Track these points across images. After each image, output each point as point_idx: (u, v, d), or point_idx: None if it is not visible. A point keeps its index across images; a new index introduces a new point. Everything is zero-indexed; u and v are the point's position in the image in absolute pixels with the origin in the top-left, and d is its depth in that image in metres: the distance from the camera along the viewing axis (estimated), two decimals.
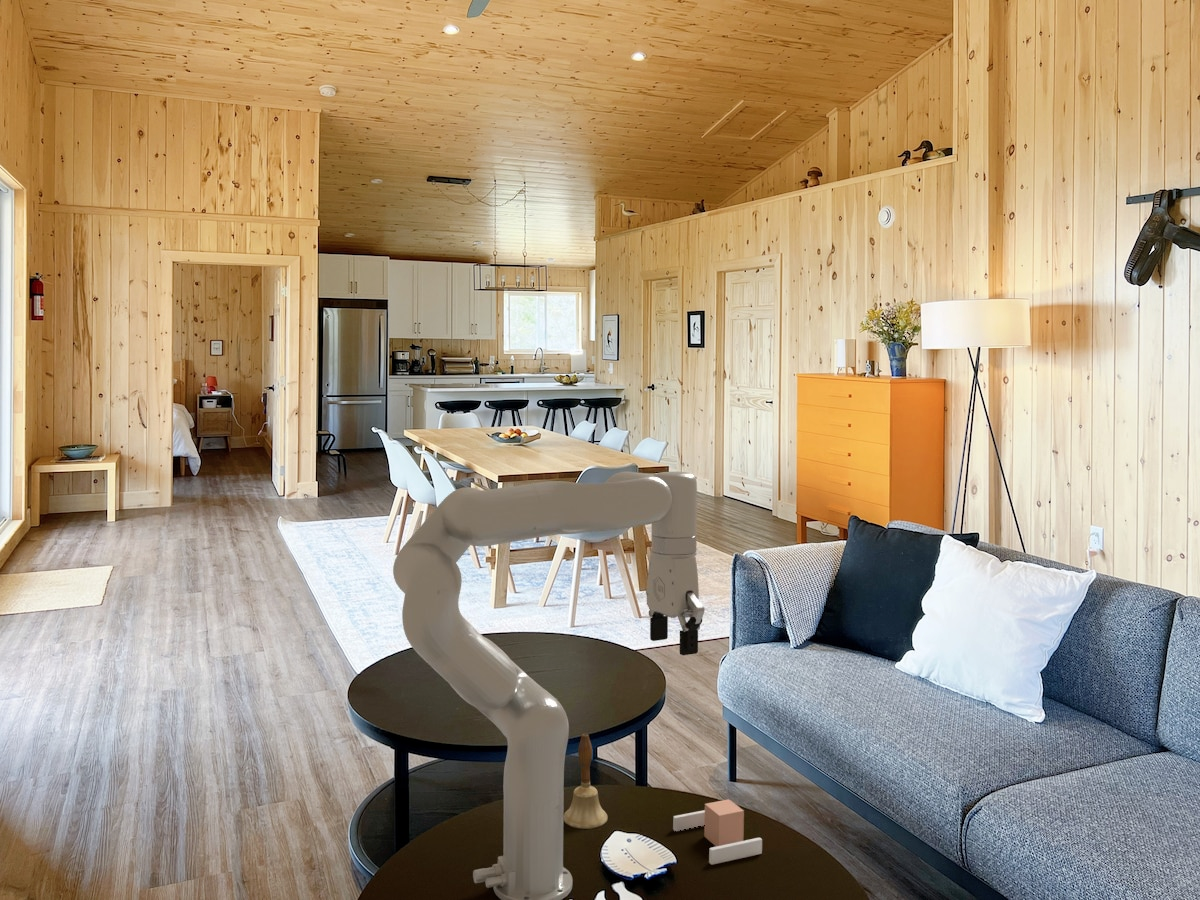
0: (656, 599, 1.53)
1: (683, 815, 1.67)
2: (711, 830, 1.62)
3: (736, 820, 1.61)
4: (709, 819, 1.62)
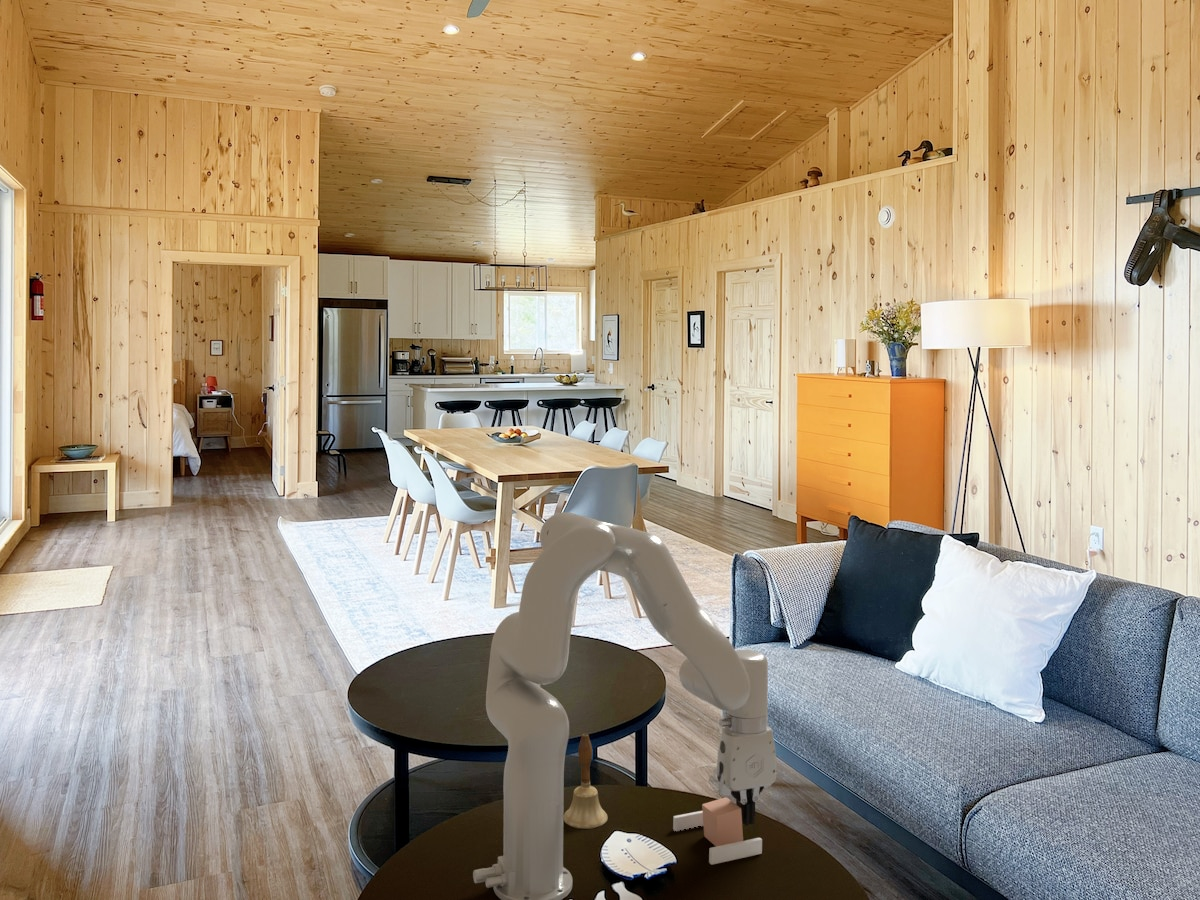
0: (750, 777, 1.61)
1: (683, 815, 1.67)
2: (710, 830, 1.62)
3: (734, 818, 1.60)
4: (707, 819, 1.62)
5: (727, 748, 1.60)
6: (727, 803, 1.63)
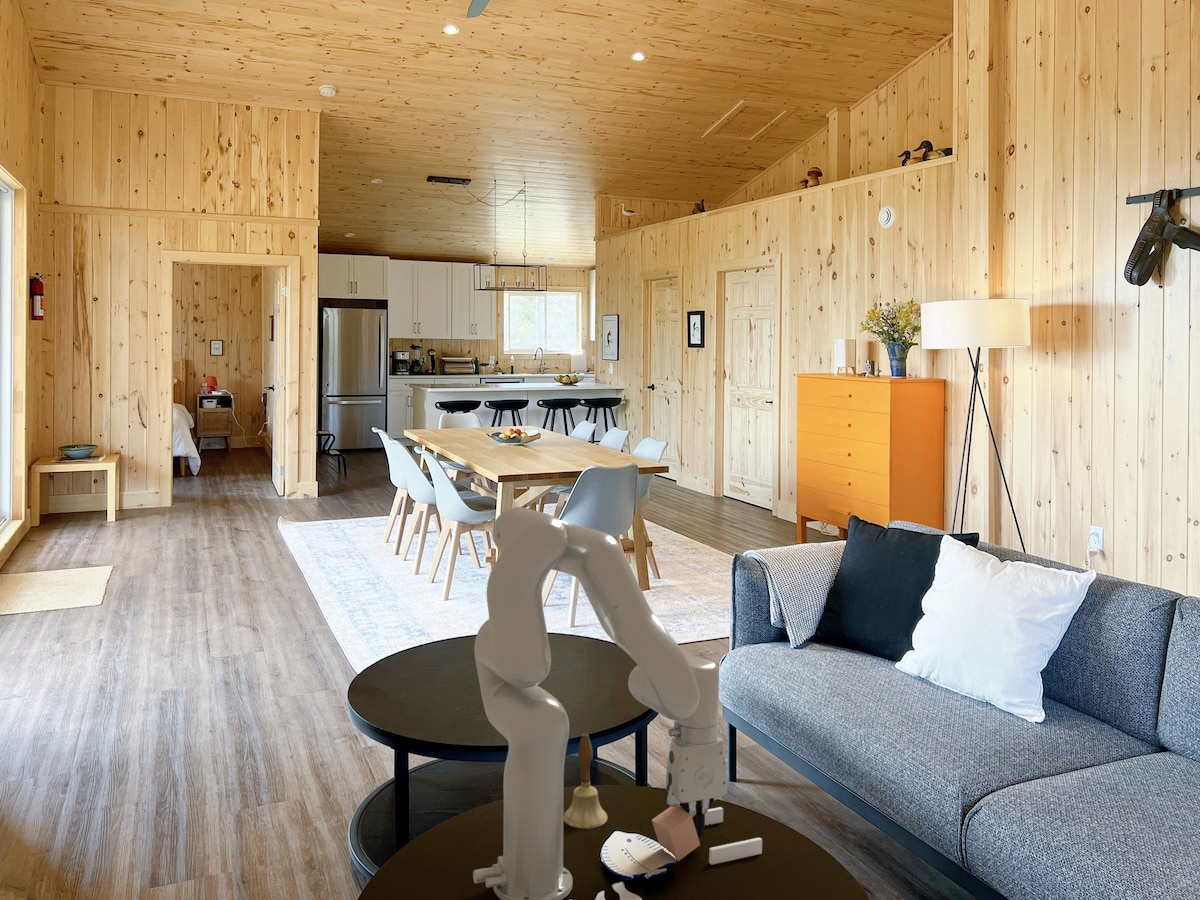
0: (699, 788, 1.57)
1: None
2: (665, 844, 1.57)
3: (686, 827, 1.56)
4: (660, 834, 1.57)
5: (676, 758, 1.56)
6: (676, 812, 1.58)
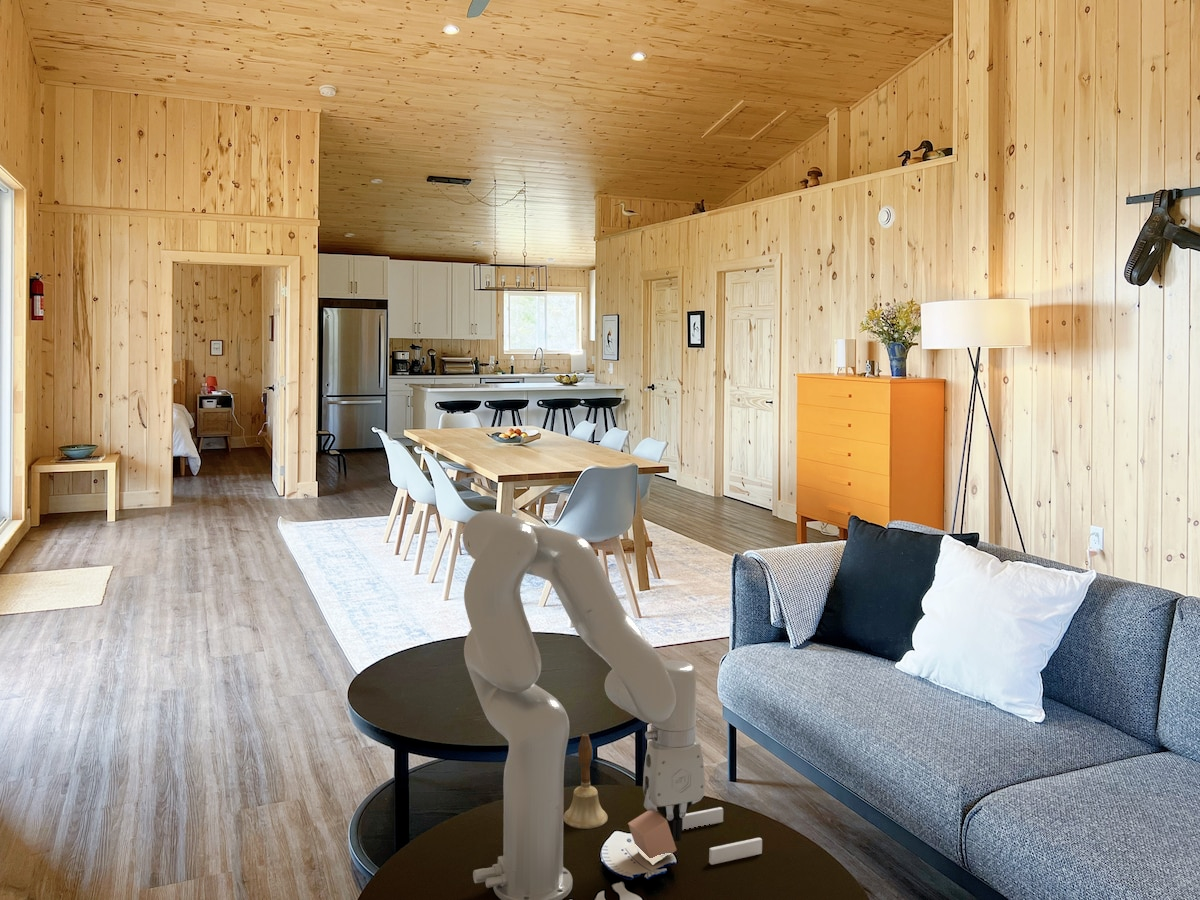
0: (676, 792, 1.55)
1: None
2: (641, 848, 1.55)
3: (662, 831, 1.54)
4: (636, 837, 1.56)
5: (652, 762, 1.54)
6: (653, 816, 1.56)
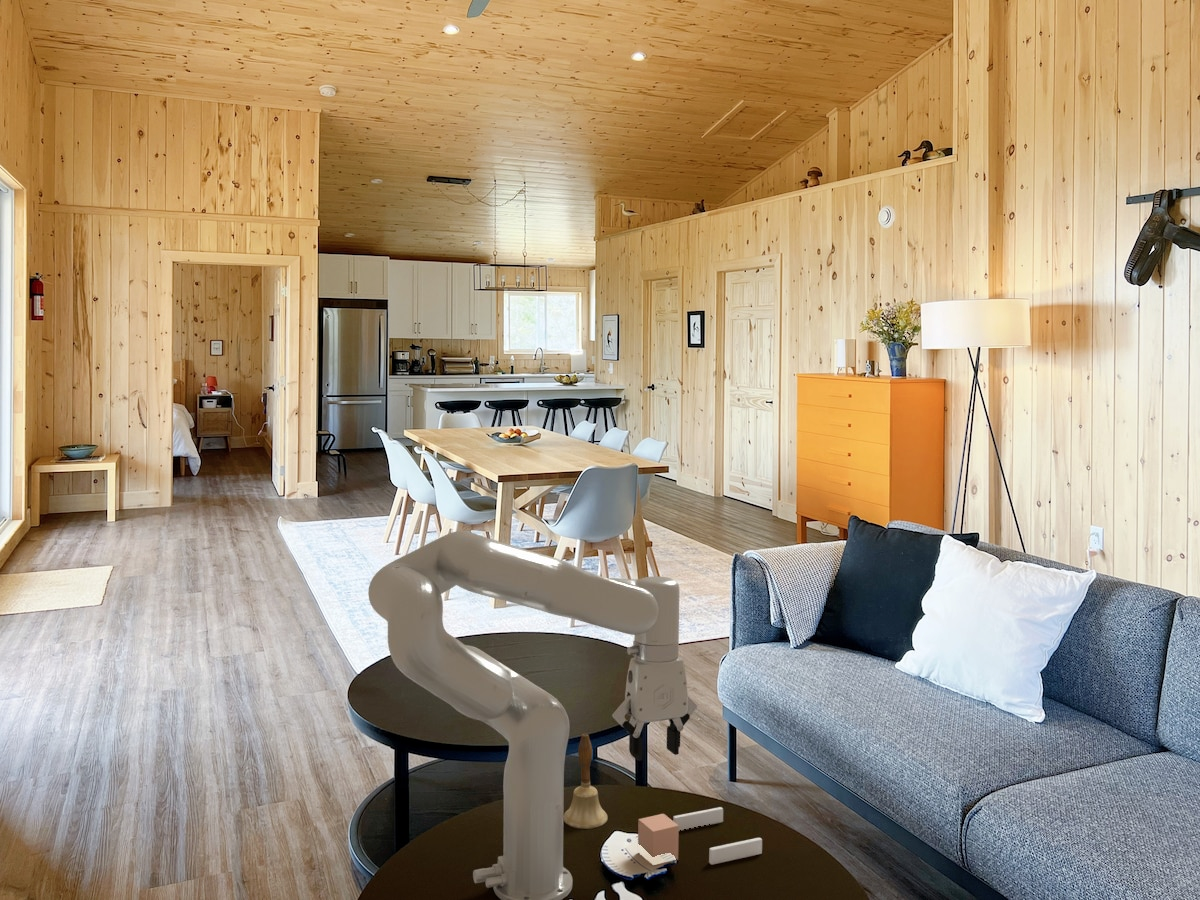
0: (658, 708, 1.53)
1: (683, 815, 1.67)
2: (645, 846, 1.55)
3: (671, 835, 1.55)
4: (642, 835, 1.56)
5: (634, 677, 1.52)
6: (664, 819, 1.57)
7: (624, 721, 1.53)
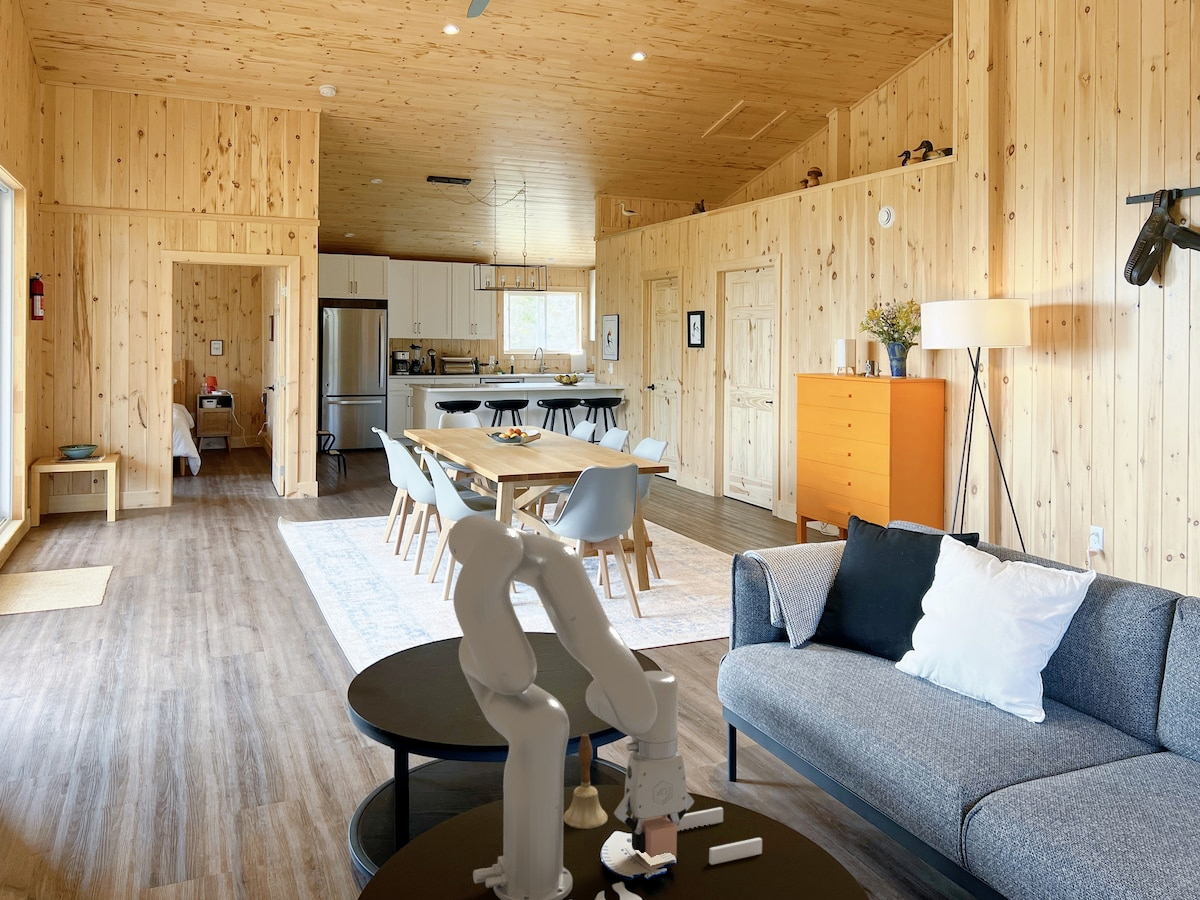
0: (657, 804, 1.54)
1: None
2: None
3: (669, 835, 1.55)
4: None
5: (633, 774, 1.53)
6: (663, 819, 1.57)
7: (626, 818, 1.54)
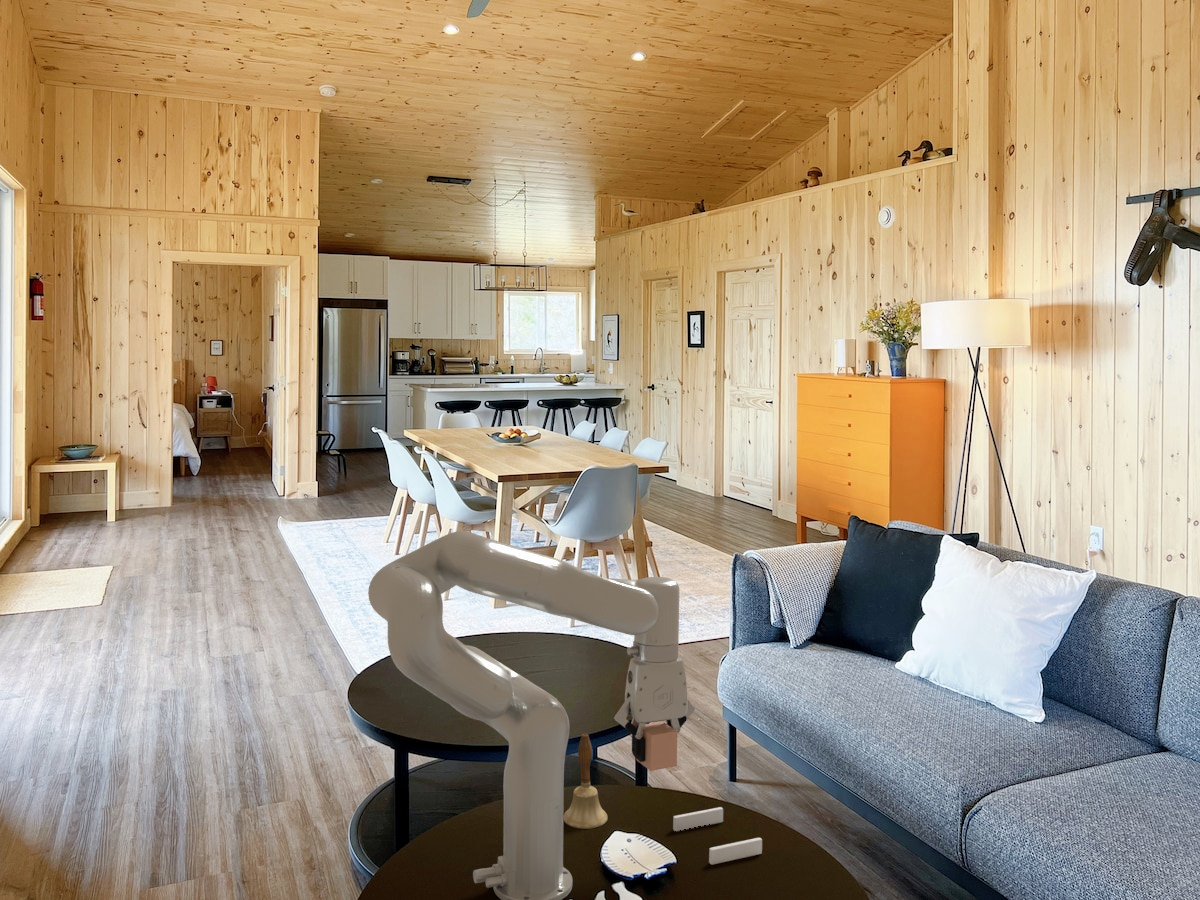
0: (658, 709, 1.53)
1: (683, 815, 1.67)
2: None
3: (669, 740, 1.54)
4: None
5: (634, 677, 1.52)
6: (663, 726, 1.56)
7: (627, 722, 1.53)
